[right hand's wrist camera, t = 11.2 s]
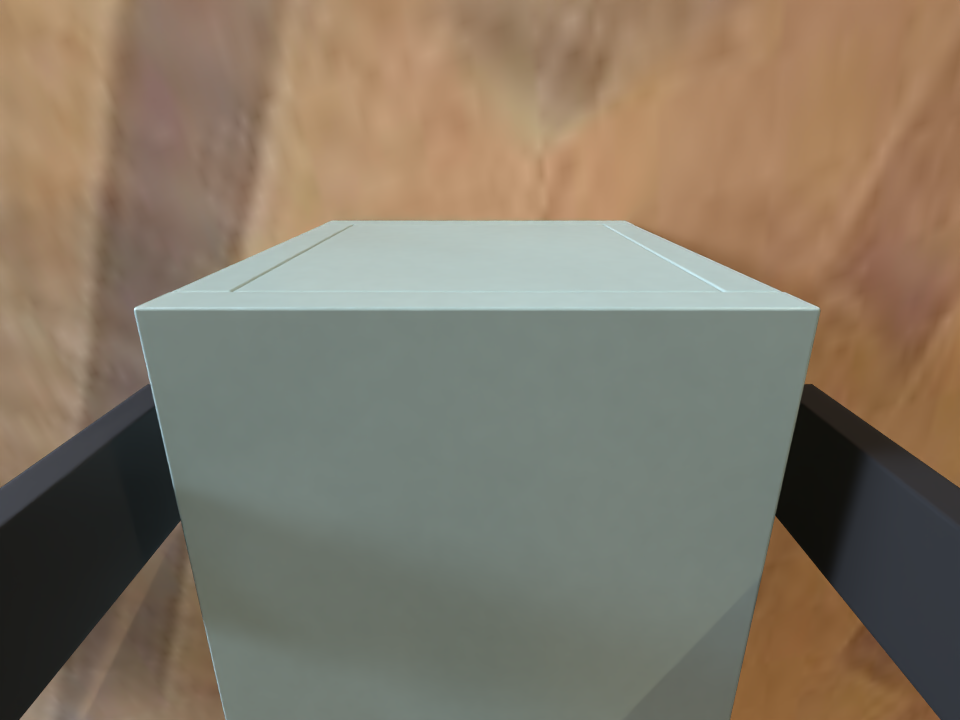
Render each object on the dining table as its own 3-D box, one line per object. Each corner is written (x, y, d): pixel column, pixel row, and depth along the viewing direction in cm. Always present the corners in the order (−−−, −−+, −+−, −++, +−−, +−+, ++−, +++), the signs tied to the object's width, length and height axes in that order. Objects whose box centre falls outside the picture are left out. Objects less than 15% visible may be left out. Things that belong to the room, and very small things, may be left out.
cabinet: (591, 605, 25) (678, 954, 14) (365, 605, 25) (277, 955, 14) (626, 220, 19) (822, 307, 8) (330, 220, 19) (131, 306, 8)
